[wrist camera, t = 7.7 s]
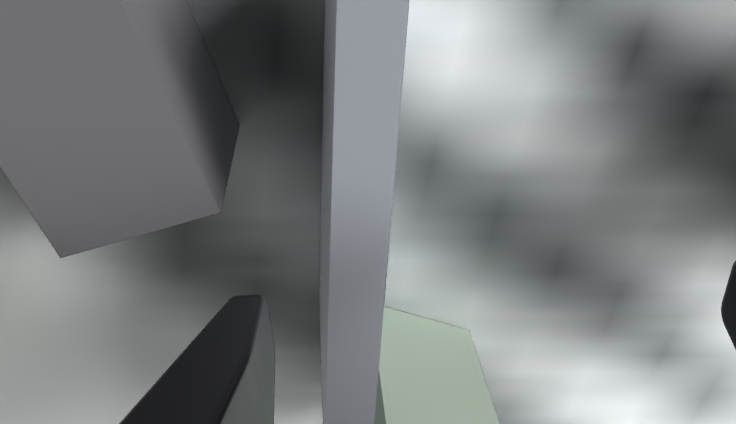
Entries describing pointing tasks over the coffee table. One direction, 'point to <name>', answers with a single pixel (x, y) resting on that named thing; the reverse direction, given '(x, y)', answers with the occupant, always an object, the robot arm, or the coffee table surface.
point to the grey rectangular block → (111, 118)
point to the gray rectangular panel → (357, 196)
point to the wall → (429, 374)
